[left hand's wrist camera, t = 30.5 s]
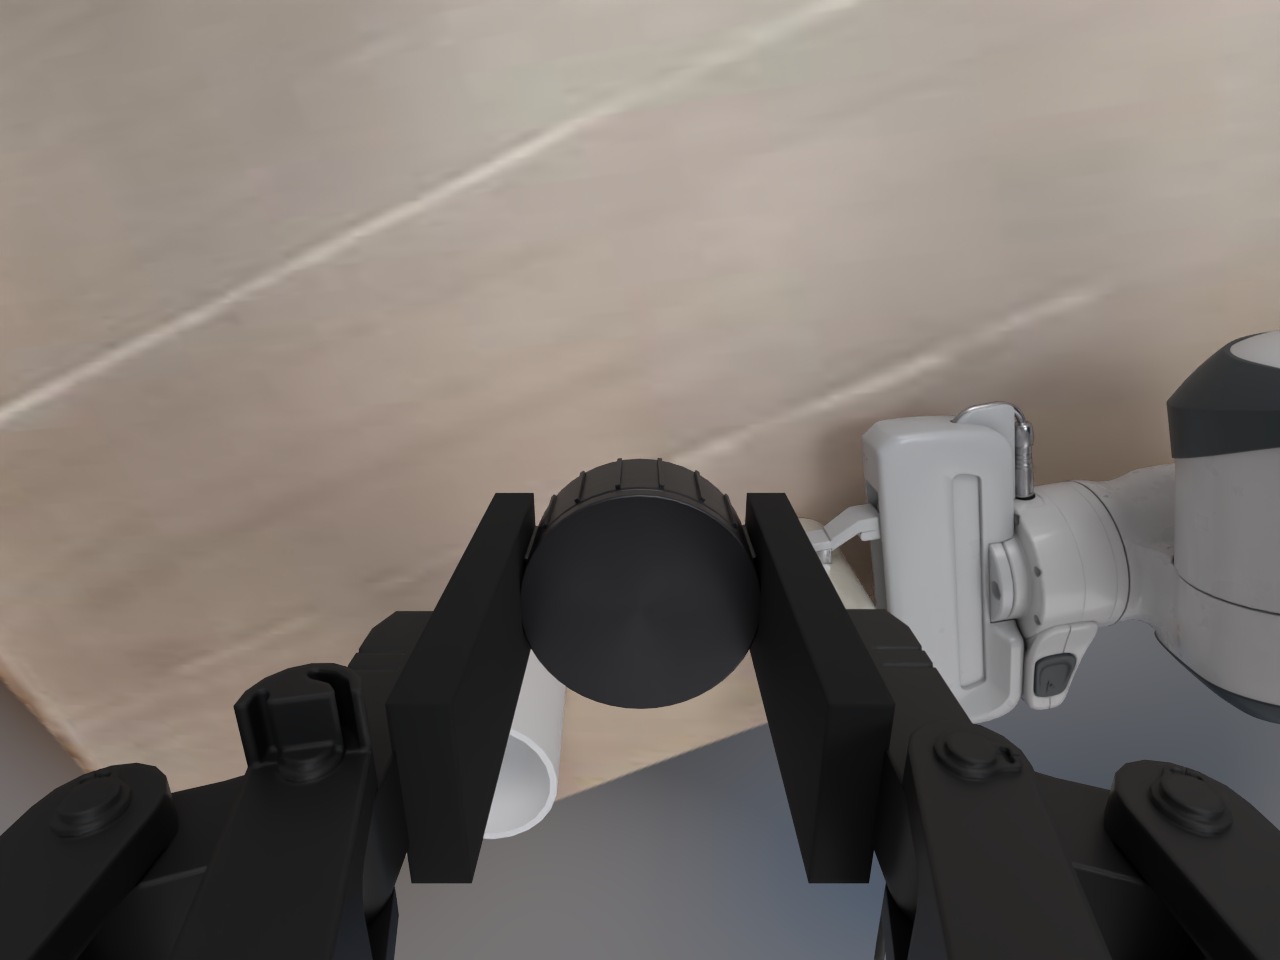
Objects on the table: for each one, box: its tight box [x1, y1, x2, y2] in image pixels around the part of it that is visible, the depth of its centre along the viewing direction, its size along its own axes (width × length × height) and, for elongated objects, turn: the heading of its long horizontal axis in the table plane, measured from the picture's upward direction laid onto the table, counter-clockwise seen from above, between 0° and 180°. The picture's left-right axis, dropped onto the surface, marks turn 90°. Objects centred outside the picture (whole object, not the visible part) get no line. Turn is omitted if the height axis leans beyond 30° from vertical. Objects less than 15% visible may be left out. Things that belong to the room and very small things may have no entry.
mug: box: [483, 649, 566, 839], centre depth 48 cm, size 11×9×10 cm
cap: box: [520, 458, 761, 709], centre depth 13 cm, size 4×4×2 cm
